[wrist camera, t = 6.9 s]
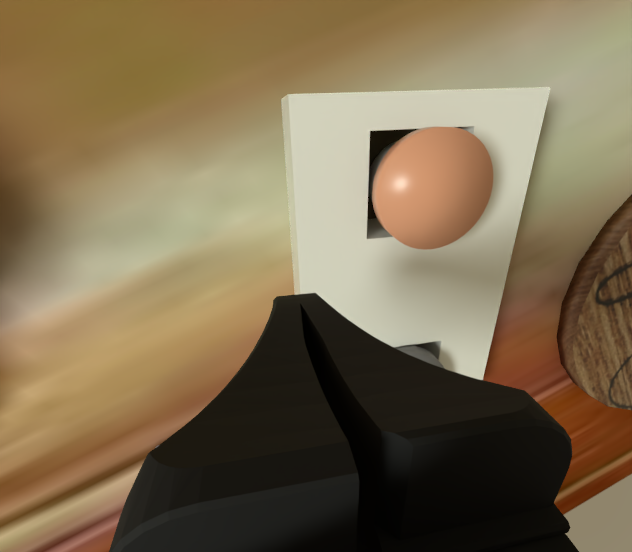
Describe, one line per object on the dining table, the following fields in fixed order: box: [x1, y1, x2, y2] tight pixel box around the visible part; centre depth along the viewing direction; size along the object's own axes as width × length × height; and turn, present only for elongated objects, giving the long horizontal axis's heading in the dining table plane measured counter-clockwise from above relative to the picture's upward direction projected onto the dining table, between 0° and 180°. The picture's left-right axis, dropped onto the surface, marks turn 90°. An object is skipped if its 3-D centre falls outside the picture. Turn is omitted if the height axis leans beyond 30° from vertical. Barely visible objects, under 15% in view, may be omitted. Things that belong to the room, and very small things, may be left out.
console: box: [281, 87, 551, 380], centre depth 20 cm, size 20×12×4 cm, turn 2°
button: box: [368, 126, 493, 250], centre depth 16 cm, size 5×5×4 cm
